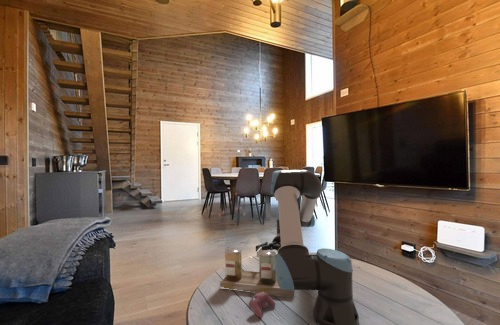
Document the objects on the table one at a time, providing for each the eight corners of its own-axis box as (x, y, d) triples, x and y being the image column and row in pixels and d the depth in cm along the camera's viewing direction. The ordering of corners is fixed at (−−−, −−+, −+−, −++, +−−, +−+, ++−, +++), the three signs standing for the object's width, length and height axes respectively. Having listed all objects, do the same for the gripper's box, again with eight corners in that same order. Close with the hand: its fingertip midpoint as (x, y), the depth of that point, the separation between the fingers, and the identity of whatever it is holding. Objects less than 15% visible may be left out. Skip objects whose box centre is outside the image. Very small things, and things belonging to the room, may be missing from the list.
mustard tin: (229, 273, 122) (228, 247, 122) (244, 274, 119) (243, 248, 120) (222, 280, 114) (221, 253, 114) (238, 282, 112) (237, 254, 112)
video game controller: (268, 307, 99) (261, 289, 101) (276, 305, 96) (269, 287, 98) (252, 320, 91) (245, 300, 93) (261, 318, 89) (254, 297, 91)
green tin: (261, 276, 118) (260, 249, 118) (277, 277, 116) (276, 250, 116) (257, 284, 110) (257, 255, 110) (274, 286, 108) (274, 257, 108)
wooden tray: (293, 297, 103) (293, 290, 103) (220, 289, 111) (219, 282, 111) (296, 280, 118) (296, 273, 118) (231, 274, 126) (231, 268, 126)
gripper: (302, 250, 137) (297, 266, 117) (258, 247, 145) (246, 260, 124) (302, 237, 137) (297, 249, 117) (258, 233, 145) (246, 245, 124)
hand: (271, 255), depth 120 cm, fingers open, 13 cm apart
